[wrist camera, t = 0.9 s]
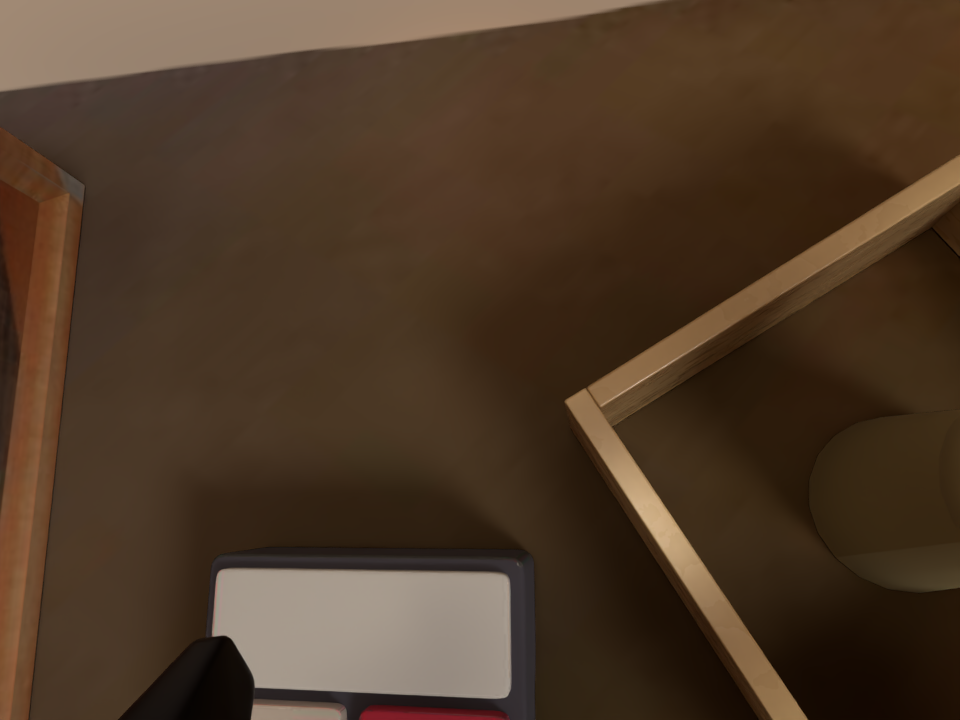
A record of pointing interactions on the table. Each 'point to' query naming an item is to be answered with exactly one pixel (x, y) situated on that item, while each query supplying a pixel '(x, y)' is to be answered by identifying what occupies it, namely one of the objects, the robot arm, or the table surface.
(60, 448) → the table surface
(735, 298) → the crate
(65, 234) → the wooden box
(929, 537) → the beige pawn
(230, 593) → the calculator
